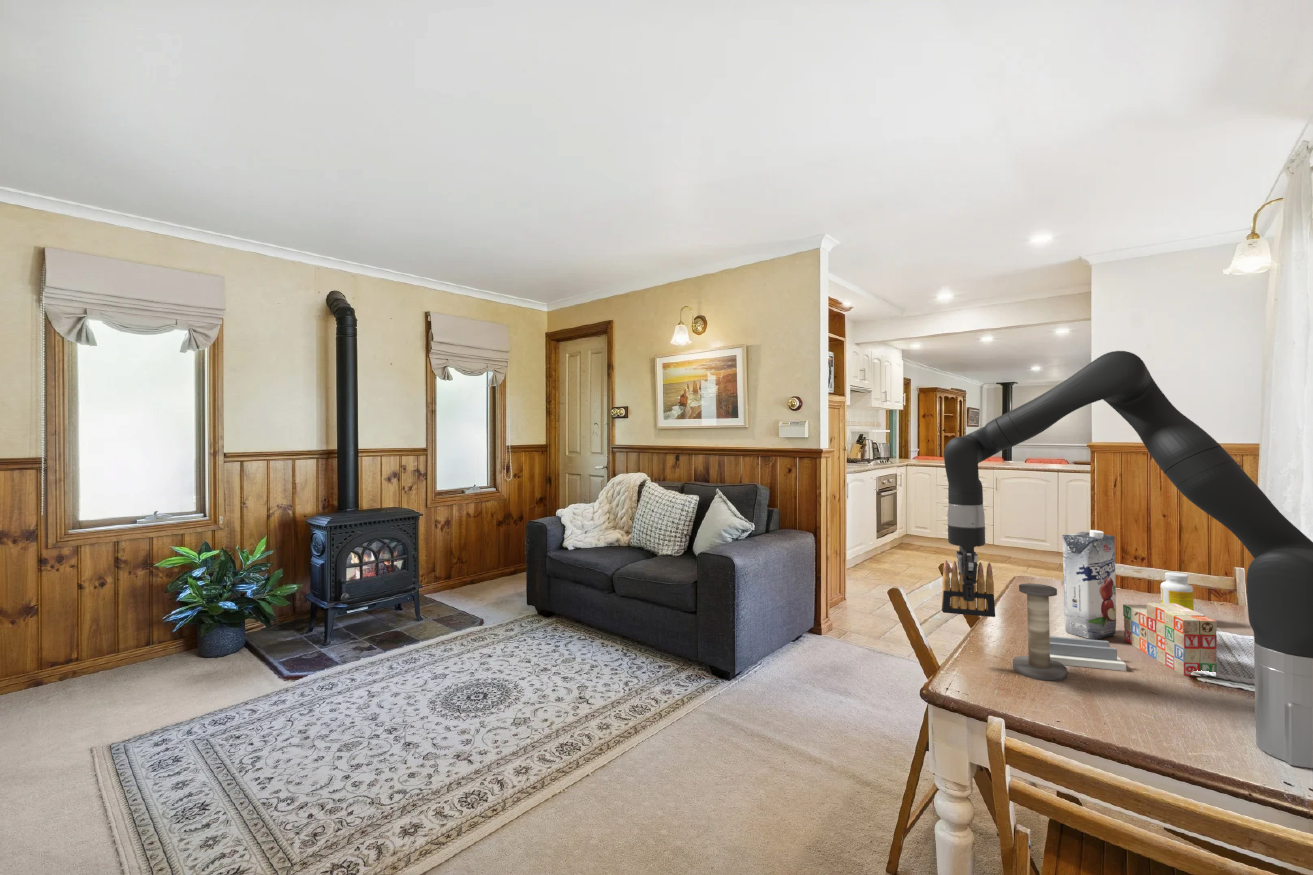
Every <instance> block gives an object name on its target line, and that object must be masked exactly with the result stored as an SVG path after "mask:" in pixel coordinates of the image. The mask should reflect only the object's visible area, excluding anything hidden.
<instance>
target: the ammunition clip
mask: <svg viewBox="0 0 1313 875" xmlns="http://www.w3.org/2000/svg"><path fill="white" fill-rule="evenodd" d="M987 563H988V564H987V566H986V575H985V576H984V567H983V563H982V562H979V563H978V566H977V577H976V581H977V582H976V584H975V585H974V601H965V600H964V599H963V584H962V574H961V573H960V576H959V571H958V564H957V562H956V560H953V561H952V564H951V574H950V568H949V562H948V560H946V559H945V561H944V564H943V570H942V571H943V573H942V579H941V580H942V588H941V589H942V596H941V612H942V613H943V614H954V615H963V616H978V617H989V618H990V617H991V618H996V606H995V603H996V602H995V593H994V592H995V588H994V587H995V583H994V582H995V581H994V576H993V567H992V564H991V562H987ZM962 569H963V568H962ZM963 570H964V569H963ZM950 575H951V577H950ZM968 578H972V576H968Z"/></svg>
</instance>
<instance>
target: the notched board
mask: <svg viewBox="0 0 1313 875" xmlns="http://www.w3.org/2000/svg"><path fill="white" fill-rule="evenodd" d="M1110 645H1111V644H1110V642H1109V640H1101V639H1098V640H1091V639H1088V638H1078V637H1065V636H1051V635H1050V659H1051V660H1054V661H1057V662H1059V663H1061V664H1063V665H1064V666H1071V667H1072V666H1073V667H1081V668H1091V669H1099V670H1100V669H1101V670H1111V671H1119V672H1120V671H1122V672H1127V664H1126V662H1124V660H1122V659H1121V658H1120V657H1119V656H1118V648H1117V647H1110Z"/></svg>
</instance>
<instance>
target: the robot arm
mask: <svg viewBox="0 0 1313 875" xmlns="http://www.w3.org/2000/svg"><path fill="white" fill-rule="evenodd" d="M1102 400H1103V401H1104V402H1106V403H1107V405H1109V406H1110V407H1111V409H1113V410H1114V411H1115V412H1116V413H1118V414H1119V415H1120V416H1121V418H1122V419H1124V420H1125V421H1126V422H1127V423H1128V424H1129V426H1131V428H1133V429H1134V431H1135V432H1136V433H1137V435H1138V436H1139V438H1140V440H1141V442H1142V444H1143V445H1144V447H1145V449H1146V450H1147V451H1148V453H1149V454H1150V456H1151V457H1152V459H1153V460H1154V462H1155V463H1156V464H1157V466H1158V467H1159V468H1160V470H1161V471H1162V473H1163V474H1164V475H1165V476H1166V477H1167V479H1169V480H1170V482H1171V484H1173V485H1174V487H1176V489H1177V490H1178V491H1179V492H1180V493H1181V494H1182V495H1183V496H1184V497H1185V498H1186V499H1187V500H1188V501H1190V502H1191V503H1192V504H1193V505H1195V506H1196V507H1197V508H1198V509H1200V510H1201V511H1203V512H1204V513H1206V514H1207V515H1209V516H1210V517H1212V518H1213V519H1214V520H1216V521H1217V522H1218V523H1220V524H1221V525H1222V526H1224V527H1225V528H1226V529H1227V530H1229V531H1230V532H1232V534H1233V535H1235V537H1236V538H1237V539H1238V540H1239V541H1240V543H1241V544H1242V546H1244V548H1246V550H1247V551H1248V553H1249V554H1250V555H1251V557H1252V558H1253V560H1252V561H1251V562H1250V564H1249V566H1248V568H1247V573H1246V599H1247V612H1248V613H1247V615H1248V621H1249V625H1250V627H1251V630H1252V631H1253V646H1254V649H1253V651H1254V657H1253V658H1254V660H1253V662H1254V667H1253V668H1254V710H1255V711H1254V714H1255V715H1254V716H1255V745H1256V746H1257V747H1258V748H1259V749H1260V750H1261V751H1263V752H1265V753H1266V754H1268V755H1270V756H1272V757H1274V758H1277V759H1279V760H1282V761H1284V762H1286V763H1287V764H1289V765H1290V766H1293V767H1302V768H1309V769H1313V541H1312V540H1311V539H1310V538H1309V537H1308V536H1307V535H1305V534H1304V533H1303V532H1302V531H1301V530H1300V529H1299V528H1297V527H1296V526H1295V525H1294V524H1293V523H1292V522H1291V521H1290V520H1289V519H1287V517H1286V516H1285V515H1284V514H1283V513H1281V512H1280V511H1279V510H1278V508H1277V507H1276V506H1275V505H1274V503H1272V501H1271V500H1270V498H1268V496H1267V495H1266V494H1265V493H1264V492H1263V491H1262V489H1261V488H1260V487H1259V486H1258V485H1257V483H1255V481H1254V480H1253V479H1251V477H1250V476H1249V475H1248V474H1247V472H1246V471H1244V469H1243V468H1242V467H1241V466H1240V465H1239V464H1238V463H1237V461H1236V460H1235V459H1234V458H1233V457H1232V456H1231V455H1230V454H1229V453H1228V451H1226V450H1225V448H1224V447H1223V446H1222V445H1221V444H1220V443H1219V442H1218V441H1216V439H1214V438H1213V436H1211V435H1209V433H1208V432H1206V431H1205V430H1204V429H1203V428H1201V427H1200V426H1199V425H1198V424H1197V423H1195V422H1194V421H1193V420H1191V418H1188V417H1187V416H1186V415H1185V414H1183V413H1182V412H1181V411H1180V410H1178V409H1177V408H1176V407H1175V406H1174V404H1172V402H1171V401H1170V400H1169V399H1168V397H1167V396H1166V395H1165V394H1164V392H1163V391H1162V389H1161V388H1160V387H1159V386H1158V384H1157V383H1156V382H1155V380H1154V378H1153V377H1152V375H1151V373H1150V371H1149V369H1148V367H1147V366H1146V364H1145V362H1144V361H1143V360H1142V358H1141V357H1140V356H1138V355H1137V354H1135V353H1133V352H1130V351H1127V350H1126V351H1125V350H1115V351H1110V352H1107V353H1104V354H1102V355H1100V356H1099V357H1097V358H1095V359H1094V360H1092V361H1091V362H1090V363H1088V364H1087V365H1085V366H1083V367H1082V368H1081V369H1080V370H1078V371H1077V372H1075V373H1074V374H1073V375H1071V376H1069V377H1068V378H1067V379H1065V380H1064V381H1062V382H1060V383H1059V384H1056V386H1054V387H1052V388H1051V389H1049V390H1047V391H1046V392H1044V393H1041V395H1038V396H1037V397H1035V398H1033V399H1031V400H1029V401H1028V402H1026V403H1023V404H1021V405H1020V406H1018V407H1016V408H1013V409H1012V410H1009V411H1008V412H1005V413H1004V414H1001V415H1000V416H998V417H995V418H994V419H992V420H990V421H989V422H987V423H986V424H985V425H984V426H982V427H981V428H978V429H976V430H974V431H972V432H969V433H967V434H965V435H963V436H956V437H954V438H952V439H949V441H948V442H947V443H946V445H945V447H944V451H943V460H944V461H943V462H944V467H945V468H944V469H945V473H946V478H947V484H948V488H947V491H948V492H947V496H948V498H947V499H948V502H947V503H948V507H947V541H948V543H949V544H950V545H952V546H957V547H959V548H958V549H959V550H956V551H955V554H956V555H955V556H956V559H957V571H958V577H960V573H961V574H962V584H963V599H964V600H965V601H974V585H975V584H976V585H977V574H978V565H979V563H978V562H979V555H978V553H976V551H975V548H976V547H978V548H980V547H982V546H983V547H984V546H985V544H986V520H985V519H986V516H985V509H984V492H983V491H984V490H983V484H982V481H981V480H980V476H979V473H980V472H979V464H980V463H981V462H983V461H985V460H988V459H989V458H991V457H993V456H995V455H997V454H998V453H1000V452H1002V451H1004V450H1007V449H1011V448H1012V447H1014V446H1017V445H1020V444H1022V443H1024V442H1025V441H1028V440H1030V439H1032V438H1033V437H1036V436H1037V435H1039V434H1041V433H1043V432H1044V431H1046V430H1047V429H1049V428H1050V427H1052V426H1053V425H1054V424H1056V423H1057V422H1059V421H1060V420H1061V419H1063V418H1064V417H1066V416H1067V415H1069V414H1071V413H1073V412H1075V411H1077V410H1079V409H1081V408H1083V407H1085V406H1088V405H1090V404H1092V403H1095V402H1099V401H1102ZM962 568H963V569H964V570H963V569H962ZM968 576H972V578H968Z"/></svg>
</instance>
